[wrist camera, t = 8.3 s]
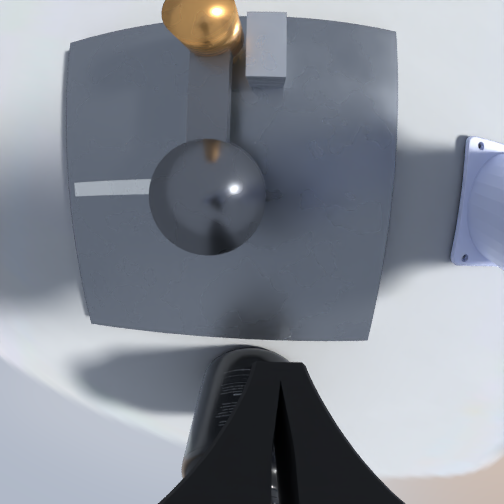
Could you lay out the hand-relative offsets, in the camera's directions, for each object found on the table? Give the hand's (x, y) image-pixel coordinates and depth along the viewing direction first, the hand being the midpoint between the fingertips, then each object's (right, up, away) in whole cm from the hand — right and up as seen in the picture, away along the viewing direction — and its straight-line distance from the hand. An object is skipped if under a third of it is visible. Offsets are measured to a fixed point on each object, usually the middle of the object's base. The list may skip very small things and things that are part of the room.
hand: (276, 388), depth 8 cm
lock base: (-2, +7, +8) cm, 12 cm away
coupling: (-2, +9, +5) cm, 11 cm away
